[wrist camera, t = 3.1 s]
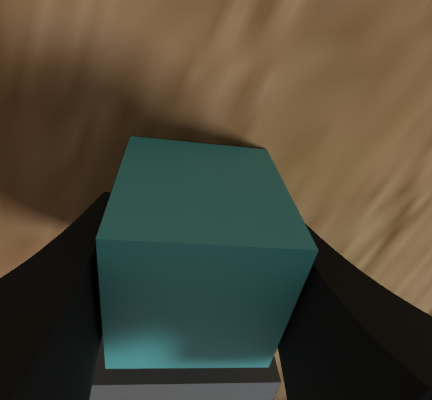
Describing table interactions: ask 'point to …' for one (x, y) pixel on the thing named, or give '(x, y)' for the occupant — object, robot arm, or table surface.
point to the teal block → (198, 257)
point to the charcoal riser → (183, 383)
